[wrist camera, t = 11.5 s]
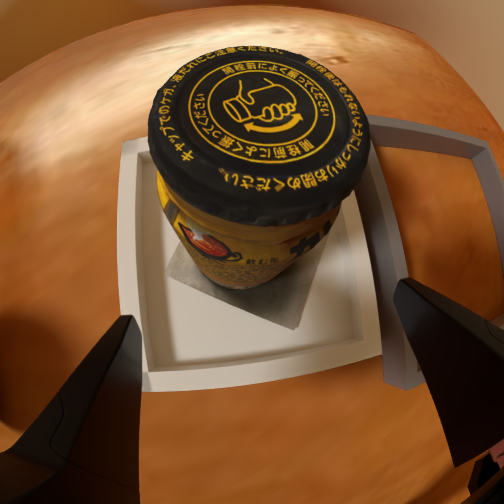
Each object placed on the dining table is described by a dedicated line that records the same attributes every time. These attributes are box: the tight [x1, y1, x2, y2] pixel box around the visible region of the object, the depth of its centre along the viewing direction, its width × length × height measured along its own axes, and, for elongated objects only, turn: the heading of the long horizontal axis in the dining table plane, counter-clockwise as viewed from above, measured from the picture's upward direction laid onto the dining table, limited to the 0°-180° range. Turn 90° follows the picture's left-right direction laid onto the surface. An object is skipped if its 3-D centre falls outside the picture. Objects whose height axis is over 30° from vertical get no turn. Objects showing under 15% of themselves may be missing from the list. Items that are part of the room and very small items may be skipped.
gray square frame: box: [354, 114, 504, 391], centre depth 18 cm, size 20×20×3 cm
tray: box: [117, 137, 382, 392], centre depth 16 cm, size 16×15×2 cm
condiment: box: [147, 46, 371, 330], centre depth 11 cm, size 7×8×12 cm
